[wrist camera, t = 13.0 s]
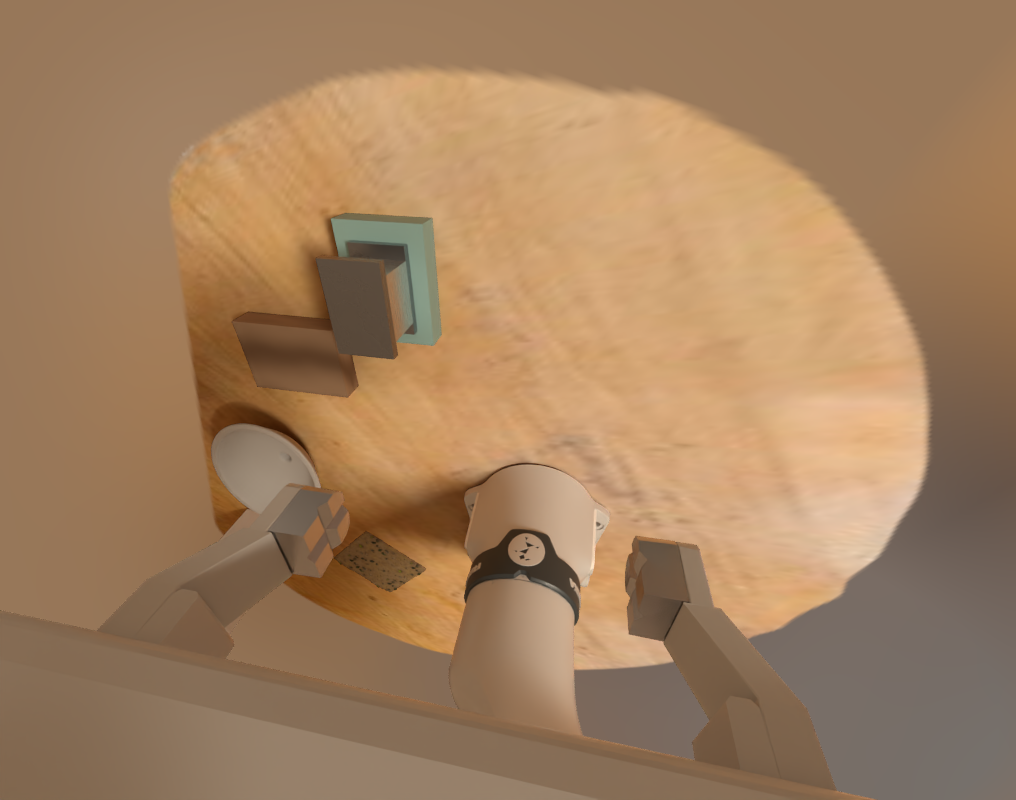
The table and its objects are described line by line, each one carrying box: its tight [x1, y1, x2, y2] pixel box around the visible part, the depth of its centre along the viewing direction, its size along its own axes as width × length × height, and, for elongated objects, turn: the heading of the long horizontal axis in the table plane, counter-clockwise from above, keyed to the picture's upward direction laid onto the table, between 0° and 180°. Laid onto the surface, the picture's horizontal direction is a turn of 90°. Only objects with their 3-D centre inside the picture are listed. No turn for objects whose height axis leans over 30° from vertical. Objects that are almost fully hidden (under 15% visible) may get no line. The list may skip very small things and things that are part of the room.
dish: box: [211, 423, 321, 514], centre depth 54 cm, size 18×14×5 cm
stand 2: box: [331, 213, 442, 346], centre depth 38 cm, size 11×8×2 cm
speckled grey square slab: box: [334, 531, 426, 592], centre depth 68 cm, size 12×12×1 cm
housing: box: [316, 240, 417, 359], centre depth 35 cm, size 5×8×6 cm, turn 179°
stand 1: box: [232, 312, 358, 398], centre depth 44 cm, size 8×11×2 cm
